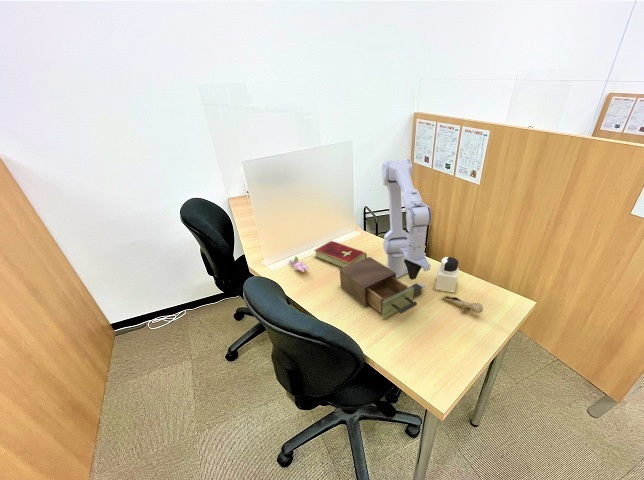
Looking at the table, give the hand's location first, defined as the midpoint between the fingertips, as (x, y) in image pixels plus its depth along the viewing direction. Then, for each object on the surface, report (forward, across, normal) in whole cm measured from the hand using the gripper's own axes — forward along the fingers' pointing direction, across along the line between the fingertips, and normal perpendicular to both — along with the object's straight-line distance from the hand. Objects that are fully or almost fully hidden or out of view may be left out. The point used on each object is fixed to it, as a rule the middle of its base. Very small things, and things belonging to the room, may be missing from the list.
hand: (412, 278), depth 100 cm
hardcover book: (+10, +40, +11) cm, 43 cm away
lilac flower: (+10, +41, +31) cm, 52 cm away
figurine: (+10, -12, -13) cm, 20 cm away
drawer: (+9, +1, +8) cm, 12 cm away
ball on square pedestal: (+10, +1, -17) cm, 20 cm away
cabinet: (+10, +13, +11) cm, 20 cm away
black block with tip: (+10, +3, -4) cm, 11 cm away
